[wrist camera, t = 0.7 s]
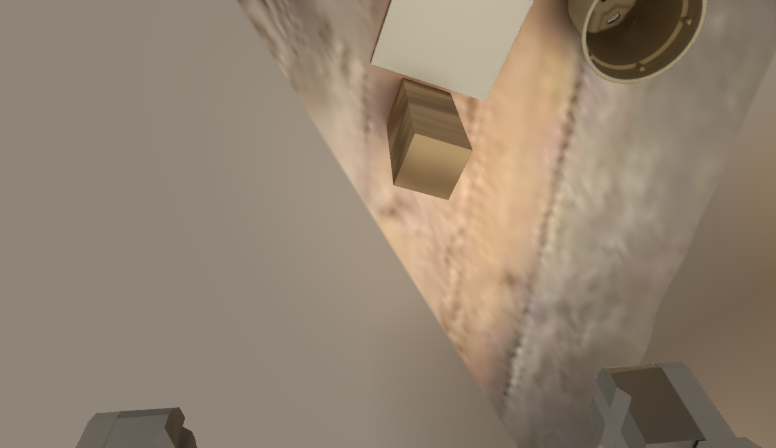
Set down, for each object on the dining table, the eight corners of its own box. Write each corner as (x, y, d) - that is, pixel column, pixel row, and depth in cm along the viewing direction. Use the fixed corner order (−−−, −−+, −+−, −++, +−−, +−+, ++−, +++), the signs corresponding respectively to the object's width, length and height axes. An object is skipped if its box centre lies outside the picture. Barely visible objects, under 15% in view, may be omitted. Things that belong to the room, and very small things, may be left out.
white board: (429, -117, 40) (430, -117, 40) (560, -62, 43) (562, -61, 43) (370, 61, 49) (370, 64, 48) (484, 99, 51) (485, 101, 51)
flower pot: (606, 66, 50) (647, 102, 43) (528, 24, 47) (557, 54, 40) (676, -29, 45) (734, -6, 38) (593, -82, 43) (640, -68, 36)
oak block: (403, 77, 50) (414, 133, 40) (450, 93, 51) (472, 150, 41) (385, 125, 53) (392, 188, 43) (430, 139, 54) (446, 202, 44)
